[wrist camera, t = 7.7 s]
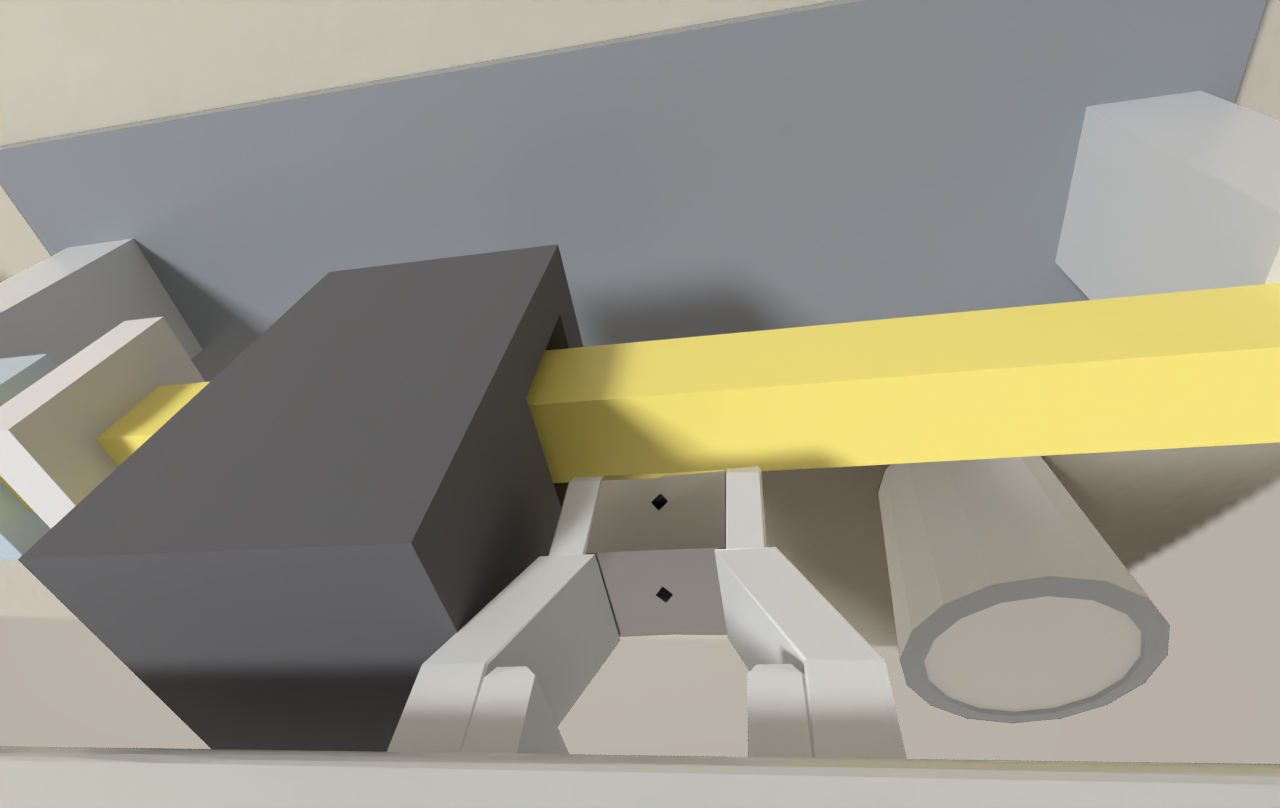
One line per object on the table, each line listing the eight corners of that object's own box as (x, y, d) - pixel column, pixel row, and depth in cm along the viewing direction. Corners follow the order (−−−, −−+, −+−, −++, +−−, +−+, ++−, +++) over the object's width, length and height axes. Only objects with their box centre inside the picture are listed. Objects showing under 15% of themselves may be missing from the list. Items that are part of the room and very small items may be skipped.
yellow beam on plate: (1265, -75, 14) (2103, -46, 6) (1142, 332, 20) (1464, 659, 11) (1, 145, 20) (-548, 327, 11) (185, 412, 26) (-90, 669, 17)
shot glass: (861, 419, 23) (906, 584, 17) (1083, 402, 22) (1208, 574, 16) (859, 556, 27) (896, 727, 21) (1048, 548, 26) (1138, 727, 20)
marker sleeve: (558, 244, 13) (410, 543, 7) (605, 434, 16) (529, 770, 10) (329, 272, 14) (18, 560, 8) (411, 447, 17) (227, 764, 11)
